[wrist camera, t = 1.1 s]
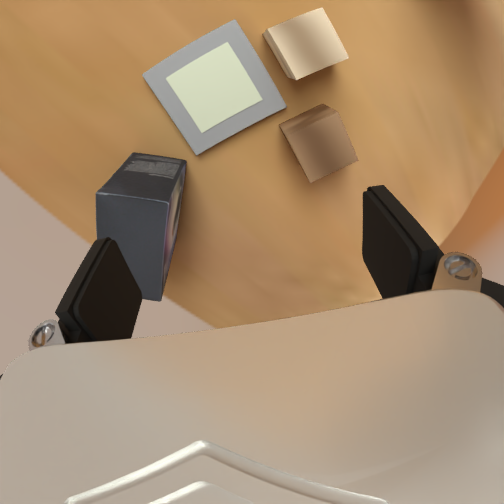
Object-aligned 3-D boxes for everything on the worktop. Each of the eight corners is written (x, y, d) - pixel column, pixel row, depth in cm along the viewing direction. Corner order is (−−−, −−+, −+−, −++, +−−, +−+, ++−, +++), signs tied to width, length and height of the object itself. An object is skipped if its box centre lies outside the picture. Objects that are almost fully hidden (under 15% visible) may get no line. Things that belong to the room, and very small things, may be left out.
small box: (178, 243, 36) (163, 306, 28) (126, 234, 35) (98, 293, 27) (190, 159, 30) (172, 204, 22) (130, 150, 29) (91, 192, 21)
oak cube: (308, 15, 22) (322, 7, 18) (331, 57, 25) (349, 58, 21) (262, 34, 23) (267, 29, 19) (287, 77, 26) (296, 80, 22)
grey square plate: (235, 20, 22) (234, 19, 21) (285, 105, 28) (287, 107, 27) (144, 74, 25) (141, 74, 24) (197, 152, 30) (196, 155, 29)
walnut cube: (322, 103, 28) (337, 112, 24) (341, 145, 30) (358, 160, 26) (278, 124, 29) (286, 136, 25) (300, 165, 31) (310, 183, 27)
